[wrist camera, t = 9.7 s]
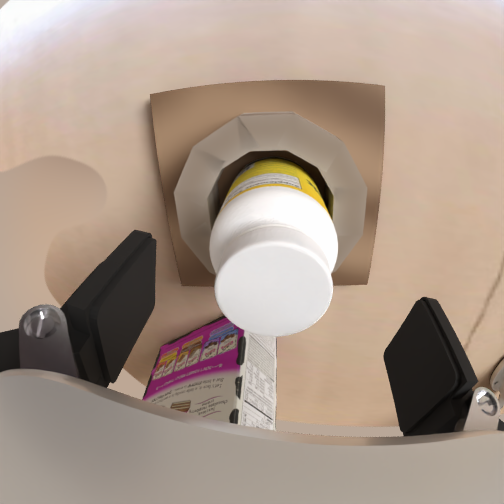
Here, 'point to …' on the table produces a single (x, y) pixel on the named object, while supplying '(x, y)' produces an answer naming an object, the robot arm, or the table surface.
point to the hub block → (271, 145)
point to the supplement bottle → (273, 249)
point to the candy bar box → (218, 375)
